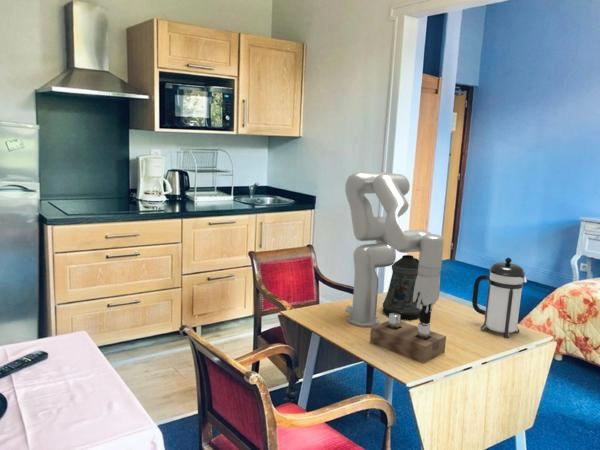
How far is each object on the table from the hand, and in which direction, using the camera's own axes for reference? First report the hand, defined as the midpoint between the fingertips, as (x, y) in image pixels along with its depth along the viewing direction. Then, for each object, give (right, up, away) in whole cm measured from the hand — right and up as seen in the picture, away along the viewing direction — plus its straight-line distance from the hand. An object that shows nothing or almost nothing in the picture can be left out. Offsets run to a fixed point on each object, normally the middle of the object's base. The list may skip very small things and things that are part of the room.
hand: (424, 322), depth 176 cm
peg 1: (-9, -5, +9) cm, 14 cm away
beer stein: (+1, -4, +43) cm, 43 cm away
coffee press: (+35, -9, +27) cm, 45 cm away
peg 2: (0, -7, +1) cm, 7 cm away
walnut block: (-5, -10, +6) cm, 13 cm away
